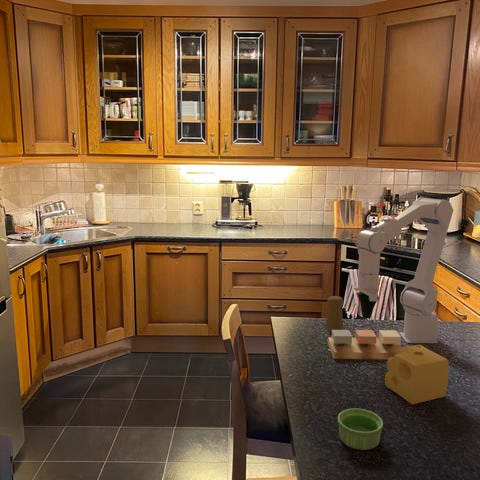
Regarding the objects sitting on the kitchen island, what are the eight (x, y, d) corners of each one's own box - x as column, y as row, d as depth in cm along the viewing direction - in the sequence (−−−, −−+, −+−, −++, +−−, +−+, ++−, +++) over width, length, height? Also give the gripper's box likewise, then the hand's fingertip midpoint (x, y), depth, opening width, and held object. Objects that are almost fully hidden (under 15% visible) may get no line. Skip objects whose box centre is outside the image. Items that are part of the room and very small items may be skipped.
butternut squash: (330, 324, 164) (331, 293, 162) (347, 328, 161) (348, 296, 158) (321, 329, 160) (322, 297, 158) (338, 333, 156) (339, 300, 154)
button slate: (348, 336, 144) (348, 329, 144) (351, 343, 139) (352, 336, 139) (331, 336, 144) (331, 329, 144) (334, 343, 139) (334, 336, 139)
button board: (393, 344, 147) (394, 333, 147) (404, 359, 137) (405, 348, 136) (328, 343, 148) (328, 333, 147) (333, 358, 137) (334, 347, 137)
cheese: (384, 386, 121) (386, 348, 120) (418, 379, 125) (421, 342, 123) (412, 406, 112) (414, 366, 110) (448, 398, 116) (451, 359, 114)
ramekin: (330, 442, 98) (330, 423, 97) (346, 422, 106) (347, 403, 105) (373, 458, 93) (374, 437, 92) (387, 435, 101) (388, 416, 100)
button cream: (395, 337, 144) (396, 330, 143) (400, 343, 139) (401, 336, 138) (378, 337, 144) (379, 330, 144) (383, 343, 139) (383, 336, 139)
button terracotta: (372, 337, 144) (372, 330, 144) (376, 343, 139) (376, 336, 139) (355, 336, 144) (355, 330, 144) (358, 343, 139) (359, 336, 139)
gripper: (349, 266, 145) (347, 309, 148) (360, 278, 131) (357, 326, 133) (373, 266, 145) (371, 309, 147) (386, 279, 131) (383, 326, 133)
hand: (366, 317), depth 140 cm, fingers closed
